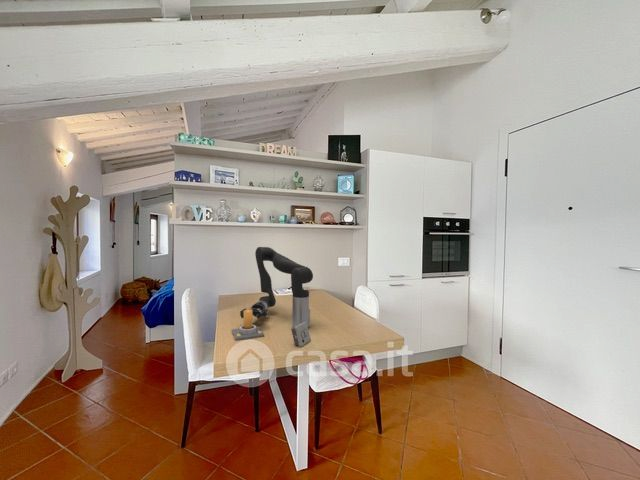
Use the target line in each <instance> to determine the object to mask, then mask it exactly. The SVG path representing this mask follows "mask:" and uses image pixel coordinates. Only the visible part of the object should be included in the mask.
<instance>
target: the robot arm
mask: <svg viewBox="0 0 640 480" xmlns="http://www.w3.org/2000/svg"><path fill="white" fill-rule="evenodd" d="M254 256H255V262H256V266H257V270H258V273H259V281H260V292H261V293H263V294H264V293H265V294H268V295H266V296H265V295H264V296H261V297H259V299H258V301H257V302H255V303H254V304H252V306H251V307H250V309H247V308H243V309H242V310H240V311H239V312H240V315H239V316H240V318H241V319H244V310H252V317H255V318H256V319H258V320H259V319H261V318H262V317H263V318H266V317H267V316H268V314H269V310H268V309H269V308H271V307H272V308H273V307H274V306H276V303H277V302H276V301H277V300H276V296H275V295H274V292H273V287H272V279H271V278H272V277H271V276H270V274H269V272H268V270H267V269H266V267H265V264H264V262H265V261H266V262H267V261H268V262H272V265H273V267H274V268H275V270H278V271H279V272H281V273H285V274H287V275H288V274H289V275H290V281H291V282H290V283H291V284H290V285H291V293H292V311H291V312H292V315H291V316H292V317H291V318H292V319H291V320H292V323H291V326H292V328H294V327H296V326H298V325H300V324H302V323H304V322H307V325H308V328H310V327H311V309H310V291H309V290H307V289H305V288H303V285H304V284H308V283H311V282H312V281H313V278H314V273H313V271H312V270H311V268H310V267H308V266H305V265H302V264H300V263H297V262H295V261H293V260H291V259H290V258H288V257H287V256H285V255H282V254H281V253H278V252H277V251H276V250H275V249H273V248H272V247H269V246H258V247H257V248H256V249H255V255H254Z"/></svg>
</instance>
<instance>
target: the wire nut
mask: <svg viewBox="0 0 640 480" xmlns="http://www.w3.org/2000/svg"><path fill="white" fill-rule="evenodd" d="M252 325H253V316H252V310H248V309H246V310H244V318H243V325H242V326H243V329H251V328H252Z"/></svg>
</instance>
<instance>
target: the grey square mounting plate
mask: <svg viewBox="0 0 640 480" xmlns="http://www.w3.org/2000/svg"><path fill="white" fill-rule="evenodd" d="M231 332H232V336H233V339H234V341H235V342H237V341H242V340H243V341H244V340H250V339H259V338H263V337H264V338H265V333H264V332H263V330H262V329H261V328H260V326H259V325H256V324H252V328H251V329H243V325H240V327H238V328H233V329H231Z"/></svg>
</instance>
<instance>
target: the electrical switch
mask: <svg viewBox="0 0 640 480" xmlns="http://www.w3.org/2000/svg"><path fill="white" fill-rule="evenodd" d="M291 335H292V338H293V343H294V346H299V348H301V347H303V346H305V345H307V344H308V343H309V342H311V340H312V339H311V334H310V330H309V327H308V325H307V322H304V323H302V324H300V325H298V326H296V327H294V328H293V327H292V328H291Z"/></svg>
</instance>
